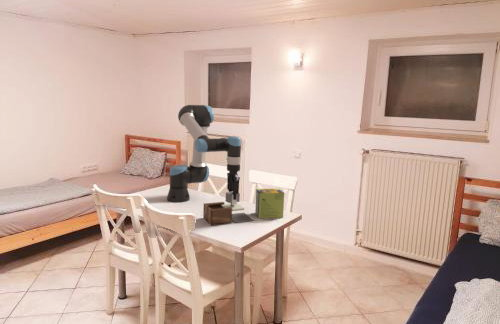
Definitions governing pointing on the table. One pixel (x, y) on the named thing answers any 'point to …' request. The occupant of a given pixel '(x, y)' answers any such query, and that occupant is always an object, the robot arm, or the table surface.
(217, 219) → the walnut box
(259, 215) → the protein box
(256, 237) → the table surface
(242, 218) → the rubber mat
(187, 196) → the robot arm
